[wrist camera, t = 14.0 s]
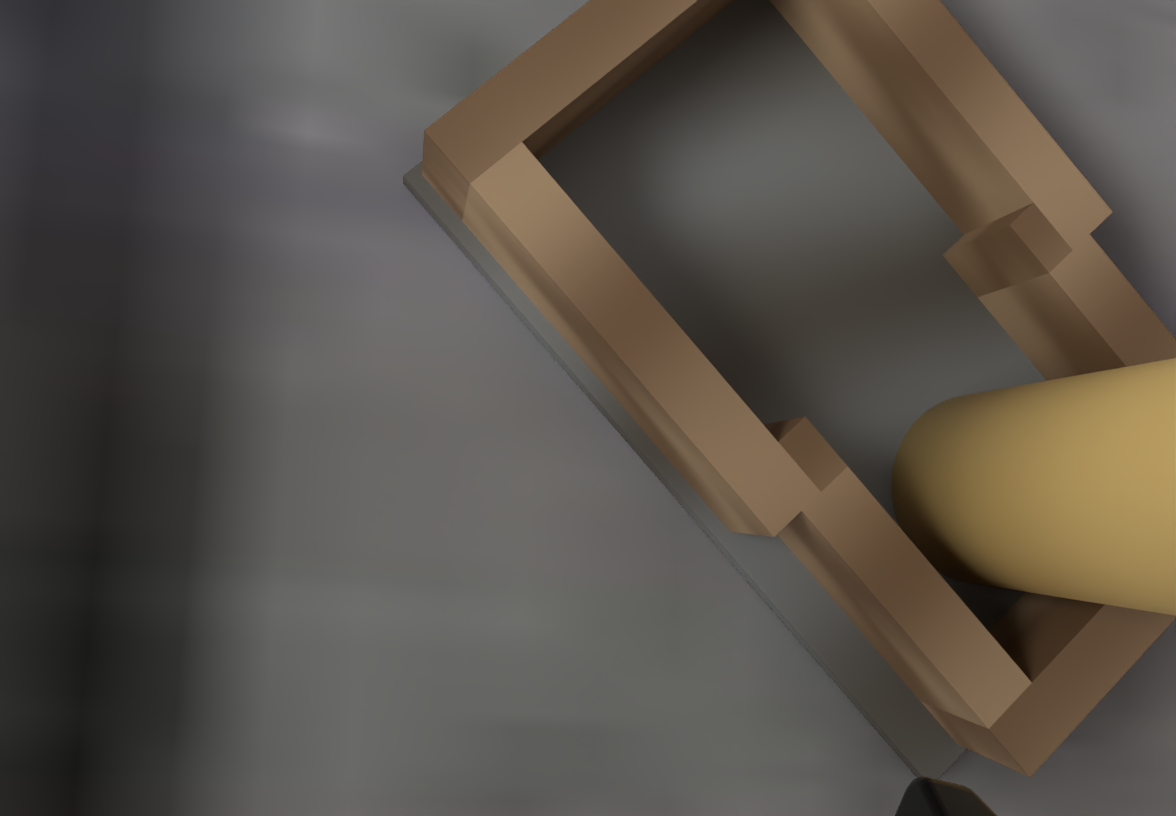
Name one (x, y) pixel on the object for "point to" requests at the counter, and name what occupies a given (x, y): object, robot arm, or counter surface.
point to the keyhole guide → (809, 315)
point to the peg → (1050, 487)
